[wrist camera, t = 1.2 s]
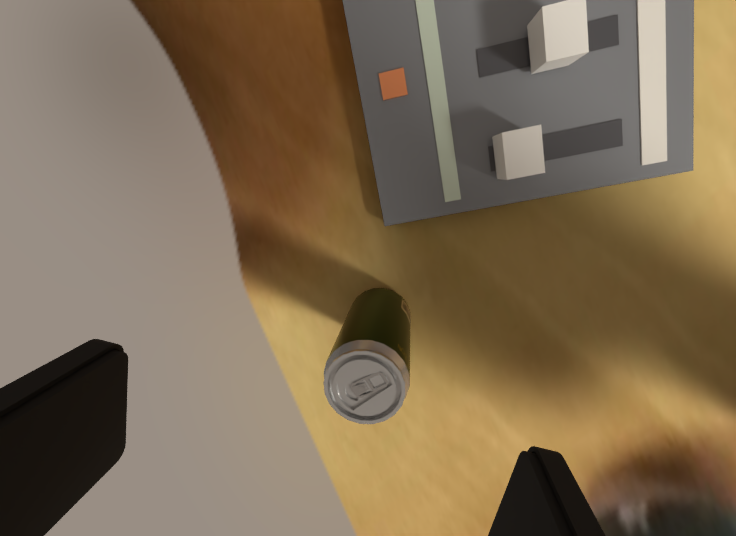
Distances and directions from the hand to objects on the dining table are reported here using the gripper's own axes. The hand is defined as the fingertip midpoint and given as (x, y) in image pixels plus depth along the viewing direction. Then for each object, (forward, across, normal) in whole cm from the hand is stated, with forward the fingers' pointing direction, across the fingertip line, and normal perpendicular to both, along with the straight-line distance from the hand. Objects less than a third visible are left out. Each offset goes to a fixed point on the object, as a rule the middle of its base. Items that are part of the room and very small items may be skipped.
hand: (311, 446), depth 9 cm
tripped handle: (+22, -8, -16) cm, 28 cm away
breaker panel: (+24, -6, -15) cm, 29 cm away
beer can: (+24, -1, +6) cm, 25 cm away
